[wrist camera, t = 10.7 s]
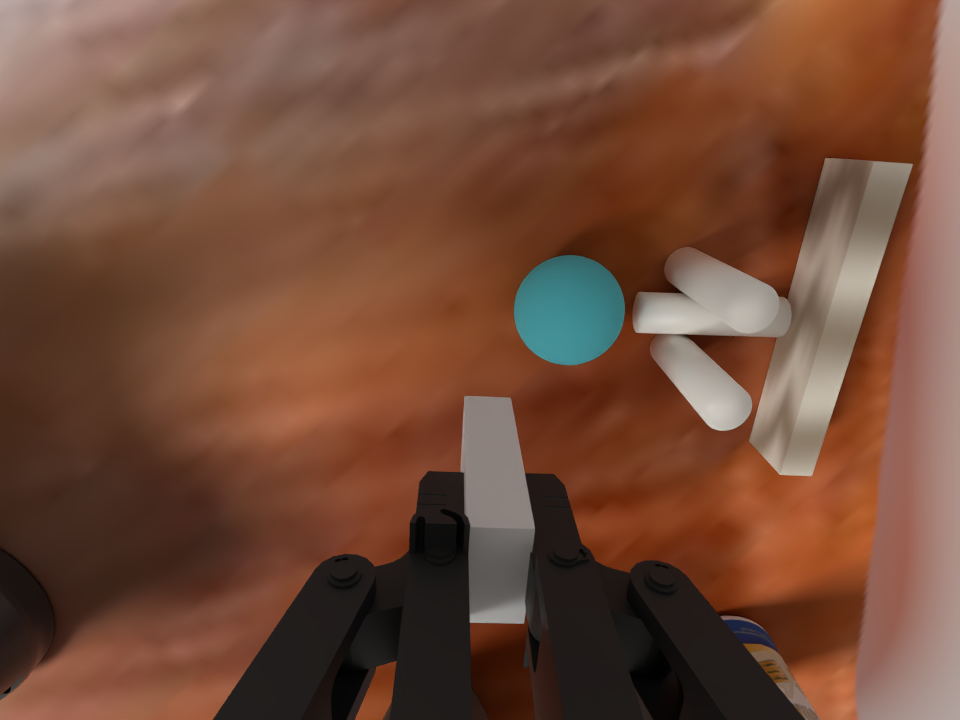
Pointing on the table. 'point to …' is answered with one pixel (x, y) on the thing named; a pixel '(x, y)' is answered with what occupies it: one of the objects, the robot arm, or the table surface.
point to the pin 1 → (722, 290)
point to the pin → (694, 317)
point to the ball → (569, 310)
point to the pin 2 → (701, 381)
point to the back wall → (826, 308)
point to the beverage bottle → (770, 661)
